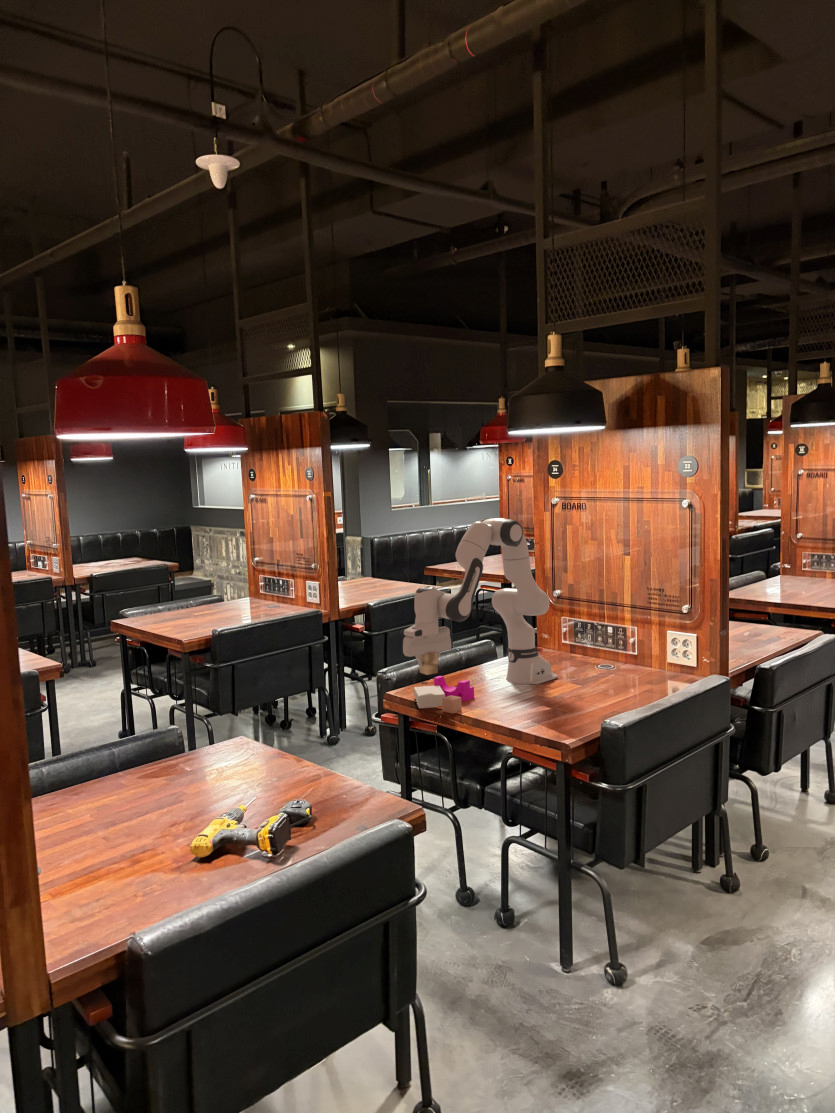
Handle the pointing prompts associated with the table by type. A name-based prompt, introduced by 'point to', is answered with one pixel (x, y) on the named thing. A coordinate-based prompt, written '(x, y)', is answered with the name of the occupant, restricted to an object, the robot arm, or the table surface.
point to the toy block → (461, 691)
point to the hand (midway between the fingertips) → (428, 664)
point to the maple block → (429, 663)
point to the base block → (428, 696)
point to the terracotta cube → (451, 704)
